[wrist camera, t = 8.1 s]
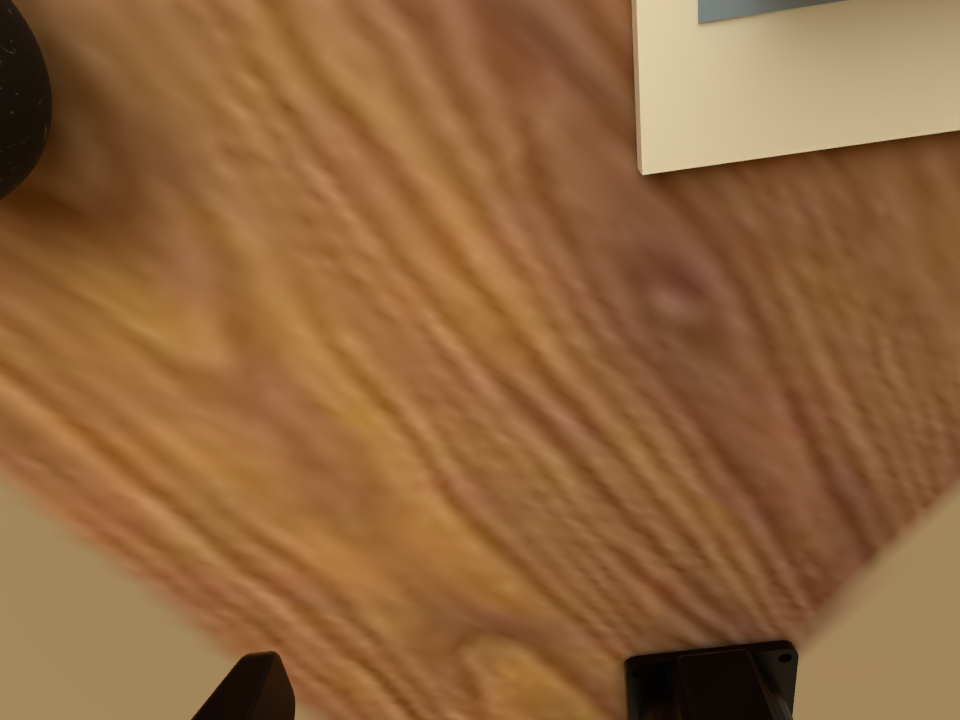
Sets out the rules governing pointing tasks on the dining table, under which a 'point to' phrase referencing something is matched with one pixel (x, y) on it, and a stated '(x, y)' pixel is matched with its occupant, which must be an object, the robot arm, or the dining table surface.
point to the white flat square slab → (789, 76)
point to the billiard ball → (21, 99)
